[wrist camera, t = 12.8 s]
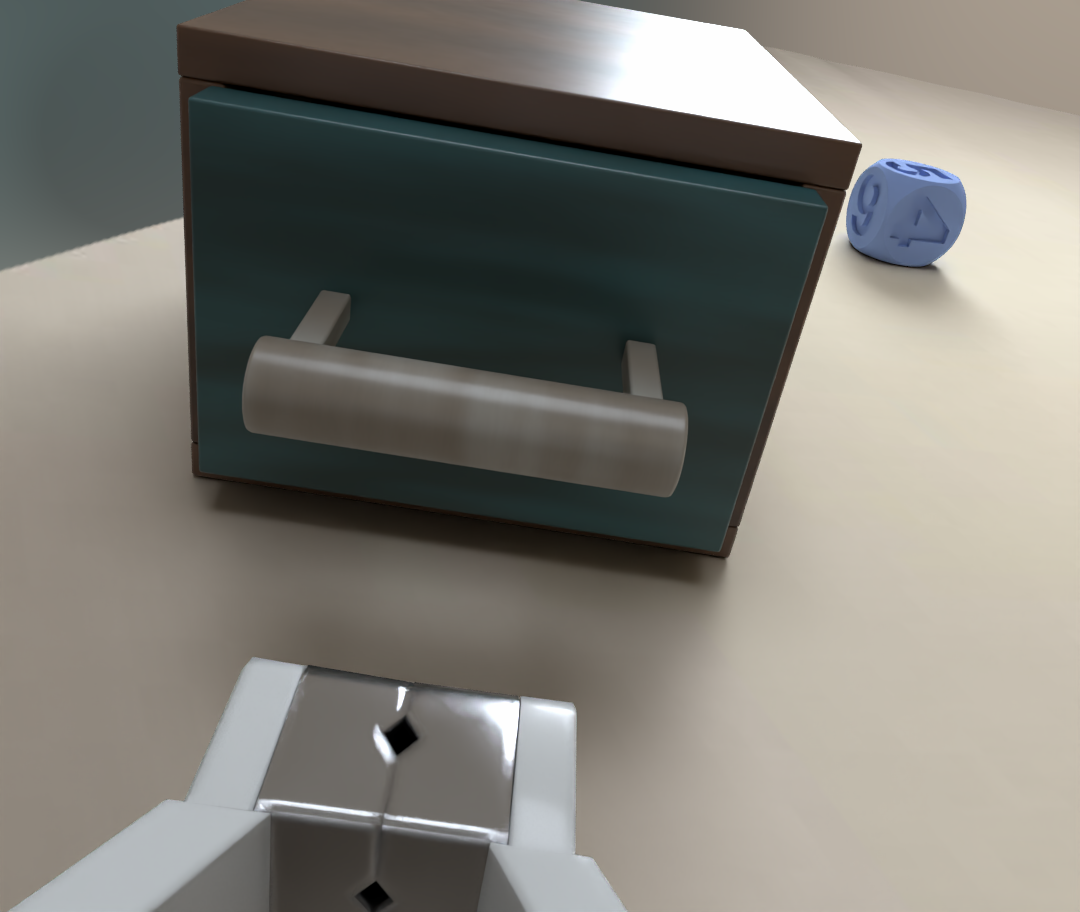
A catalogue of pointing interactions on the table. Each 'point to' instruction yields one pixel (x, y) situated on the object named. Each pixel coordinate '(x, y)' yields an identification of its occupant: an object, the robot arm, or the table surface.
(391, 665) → the table surface
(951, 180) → the decorative dice
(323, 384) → the drawer
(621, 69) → the cabinet
